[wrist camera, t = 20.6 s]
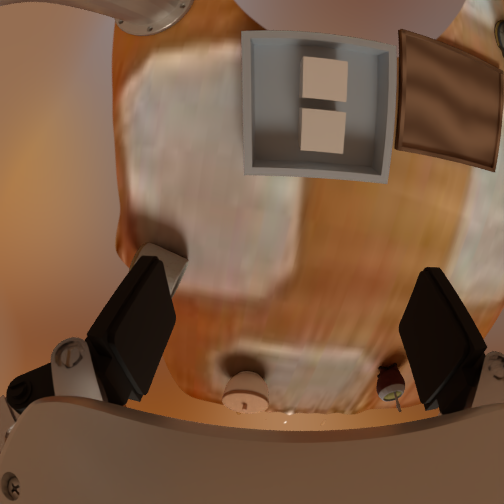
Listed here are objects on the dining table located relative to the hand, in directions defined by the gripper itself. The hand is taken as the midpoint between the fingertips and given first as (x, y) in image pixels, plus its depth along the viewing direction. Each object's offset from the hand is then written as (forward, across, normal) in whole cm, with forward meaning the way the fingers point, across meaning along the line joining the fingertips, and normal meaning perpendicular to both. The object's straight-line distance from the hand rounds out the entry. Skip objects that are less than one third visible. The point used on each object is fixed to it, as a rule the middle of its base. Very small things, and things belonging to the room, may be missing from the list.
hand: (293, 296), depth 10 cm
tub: (+30, -4, -6) cm, 31 cm away
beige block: (+30, -4, -9) cm, 31 cm away
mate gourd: (+31, -28, +49) cm, 64 cm away
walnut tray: (+30, -26, -10) cm, 41 cm away
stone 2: (+30, -4, -3) cm, 30 cm away
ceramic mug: (+31, +20, +20) cm, 42 cm away
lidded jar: (+31, +6, +53) cm, 61 cm away
